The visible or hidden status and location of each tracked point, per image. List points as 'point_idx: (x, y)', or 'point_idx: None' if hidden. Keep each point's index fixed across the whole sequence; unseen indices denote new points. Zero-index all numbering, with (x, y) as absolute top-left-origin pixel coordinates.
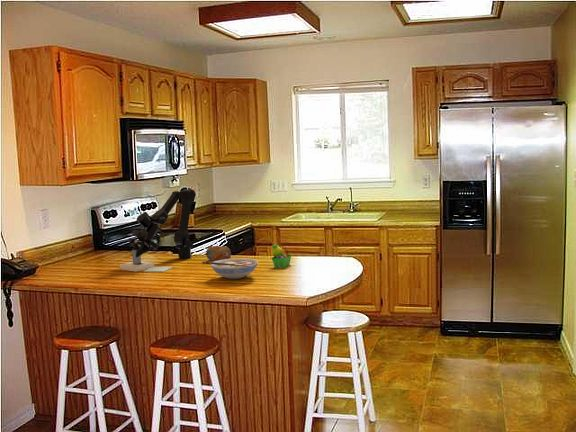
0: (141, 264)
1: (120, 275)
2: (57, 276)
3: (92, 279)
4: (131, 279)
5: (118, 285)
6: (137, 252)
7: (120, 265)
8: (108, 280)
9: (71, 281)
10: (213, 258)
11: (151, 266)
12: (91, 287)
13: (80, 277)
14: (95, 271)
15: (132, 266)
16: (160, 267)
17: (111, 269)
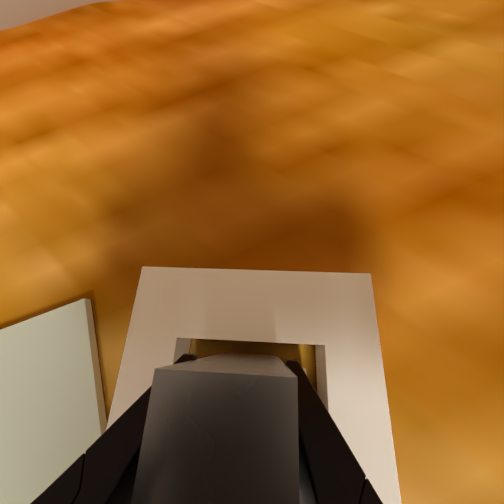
0: None
1: (174, 160)
2: (470, 22)
3: (240, 58)
4: (40, 131)
5: (32, 53)
6: None
7: (362, 275)
8: (145, 77)
9: (293, 10)
10: None
11: None
12: (121, 4)
13: (340, 54)
14: (438, 159)
15: (185, 268)
16: (4, 495)
17: (413, 248)
